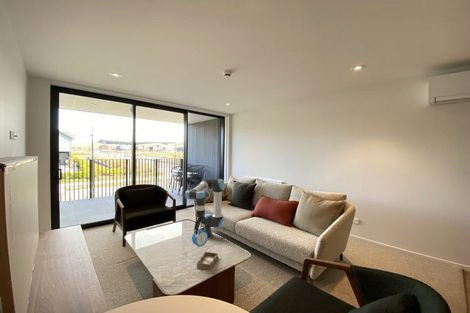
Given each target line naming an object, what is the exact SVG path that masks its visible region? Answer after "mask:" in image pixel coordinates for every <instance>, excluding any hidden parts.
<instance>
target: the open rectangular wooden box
mask: <svg viewBox="0 0 470 313" xmlns="http://www.w3.org/2000/svg"><path fill="white" fill-rule="evenodd" d="M218 255H219V253H217V252H210V251H209V252H208V251H204V253H203V254H202V255H201V257H200V258H199V259H198V261H197V262H196V268H197V269H200V270H208V271H211V270H212V269H213V267H214V265H215V263H216V262H217V260H218V258H219V256H218Z"/></svg>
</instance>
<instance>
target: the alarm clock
mask: <svg viewBox="0 0 470 313" xmlns="http://www.w3.org/2000/svg"><path fill="white" fill-rule="evenodd" d="M198 230H199V238H195V230H193V234H192V236H191V242H192V244H194V245H195V246H196V247H197V248H199V247H203V246H205V245H206V243H207V242H208V239H209V237H208V234H207V232H206V228H205V227H202V228H201V229H200V228H199V229H198ZM204 230H205V231H204Z"/></svg>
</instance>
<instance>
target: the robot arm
mask: <svg viewBox="0 0 470 313" xmlns="http://www.w3.org/2000/svg"><path fill="white" fill-rule="evenodd" d="M225 184H226V183H225V181H224V179H221V178H206V179H204V180H202V181H201V182H199V184H198V185H196V186H195V187H194V188H193V189H191V190H185V193H184V197H185V199H186V200H187V199H188V200H195V214H196V217H195V222H194V228H193V229H194V230H195V238H199V230H198V229H201V228H202V227H205V228H206V232H207V234H208V238H211V237H212V236H213V230H212V228H223V226H224V223H225V217H224V216H223V215H224V214H222V203H223V202H222V199H223V198H222V194H223V192H224V191H225V187H226V186H225ZM209 190H212V193H213V214H211V213H206V211H205V210H206V201H207V200H209V198H211V193H210V192H209ZM211 227H212V228H211ZM194 230H193V231H194ZM204 231H205V230H204Z"/></svg>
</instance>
